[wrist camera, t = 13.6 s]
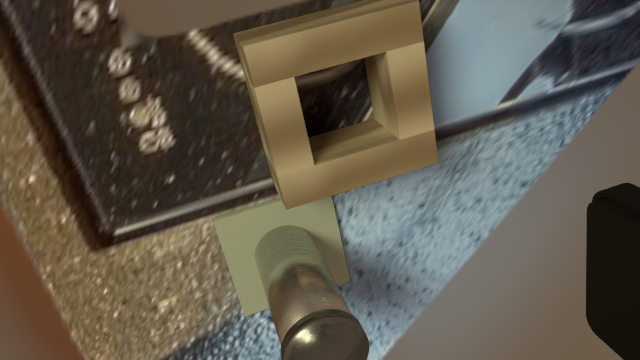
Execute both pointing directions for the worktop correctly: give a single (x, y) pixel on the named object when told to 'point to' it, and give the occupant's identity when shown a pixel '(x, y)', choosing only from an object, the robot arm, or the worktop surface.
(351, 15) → the tan square frame
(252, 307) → the mat
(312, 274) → the grey cylindrical piece
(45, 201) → the worktop surface
